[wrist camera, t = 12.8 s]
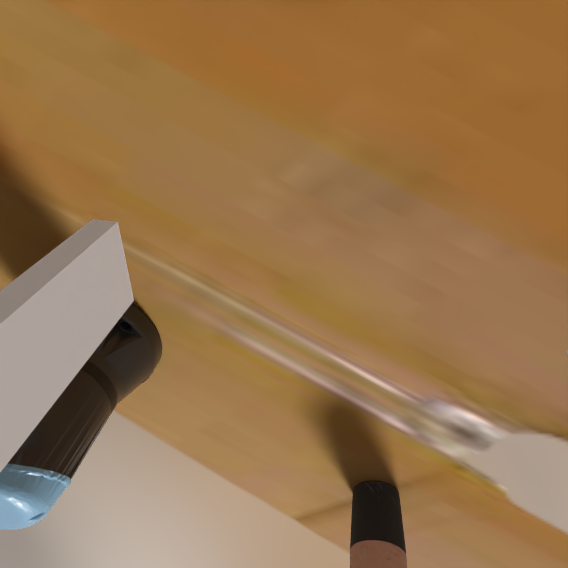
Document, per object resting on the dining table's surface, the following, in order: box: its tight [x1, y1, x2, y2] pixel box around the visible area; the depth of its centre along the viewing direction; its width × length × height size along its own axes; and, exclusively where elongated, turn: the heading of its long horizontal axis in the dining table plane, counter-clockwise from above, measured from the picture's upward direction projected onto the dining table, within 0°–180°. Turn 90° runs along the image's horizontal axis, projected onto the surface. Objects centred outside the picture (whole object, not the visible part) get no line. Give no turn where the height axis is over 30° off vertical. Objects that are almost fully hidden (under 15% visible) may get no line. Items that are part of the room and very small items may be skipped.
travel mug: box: [350, 481, 407, 568], centre depth 56 cm, size 8×8×20 cm
